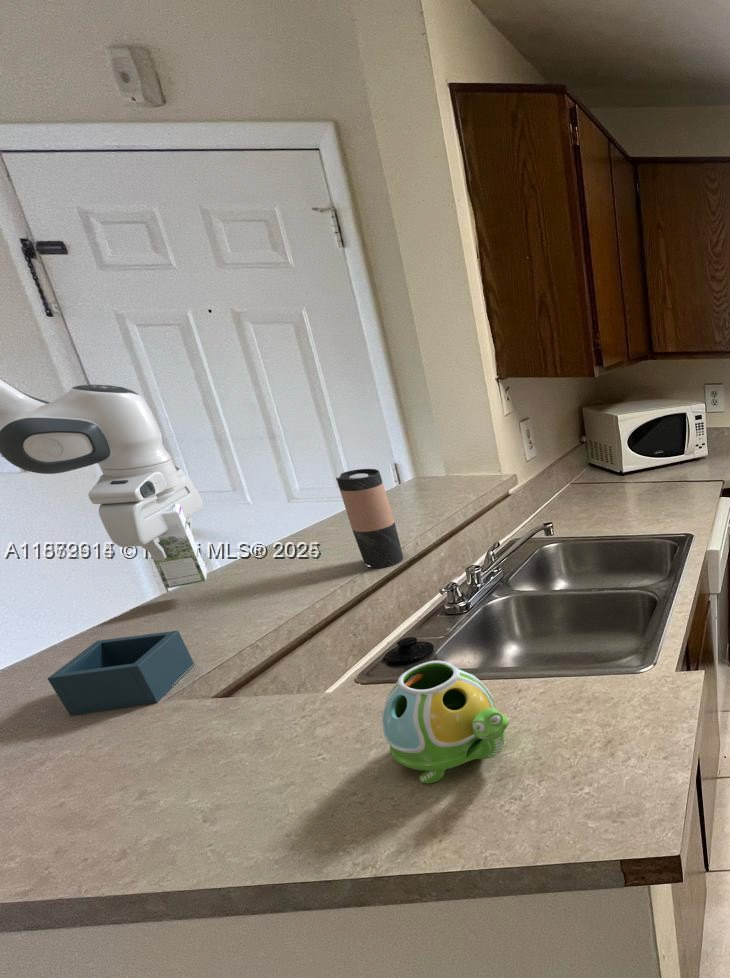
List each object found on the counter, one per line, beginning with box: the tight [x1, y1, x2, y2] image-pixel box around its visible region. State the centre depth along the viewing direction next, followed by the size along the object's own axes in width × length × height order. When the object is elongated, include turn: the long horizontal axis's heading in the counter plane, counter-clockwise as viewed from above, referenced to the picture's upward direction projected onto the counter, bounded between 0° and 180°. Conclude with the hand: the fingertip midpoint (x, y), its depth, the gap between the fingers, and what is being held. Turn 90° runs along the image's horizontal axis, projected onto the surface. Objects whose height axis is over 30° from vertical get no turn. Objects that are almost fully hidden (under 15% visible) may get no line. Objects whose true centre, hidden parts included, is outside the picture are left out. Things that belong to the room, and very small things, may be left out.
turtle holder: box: [381, 660, 509, 784], centre depth 78 cm, size 12×18×12 cm
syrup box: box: [152, 503, 208, 589], centre depth 113 cm, size 6×6×14 cm
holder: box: [46, 630, 195, 716], centre depth 91 cm, size 10×10×6 cm
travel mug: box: [335, 468, 404, 570], centre depth 129 cm, size 8×8×20 cm
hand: (174, 550), depth 113 cm, fingers closed on syrup box, 7 cm apart
